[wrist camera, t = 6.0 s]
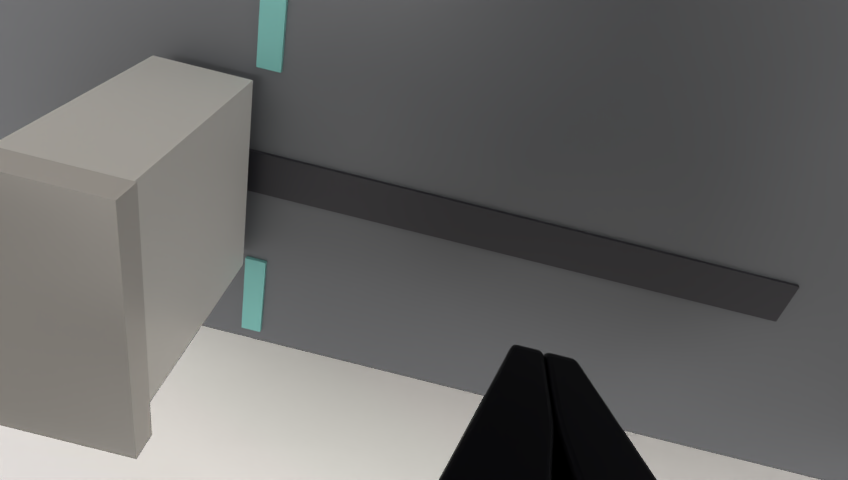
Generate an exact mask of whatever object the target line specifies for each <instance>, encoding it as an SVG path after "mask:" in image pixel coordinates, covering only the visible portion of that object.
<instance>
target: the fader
mask: <svg viewBox="0 0 848 480" xmlns="http://www.w3.org/2000/svg"><path fill="white" fill-rule="evenodd" d="M252 89H253V80H250V79H246V78H242V77H238V76H234V75H230V74H226V73H222V72H218V71H214V70H210V69H206V68H202V67H198V66H194V65H190V64H186V63H182V62H178V61H174V60H170V59H166V58H162V57H158V56H154V55H153V56H151V57H149V58H147V59H145V60H144V61H142V62H140V63H138V64H136V65H135V66H133V67H131V68H129V69H127V70H126V71H124V72H122V73H120V74H118V75H117V76H115V77H113V78H111V79H109V80H107V81H106V82H104V83H102V84H100V85H98V86H97V87H95V88H93V89H91V90H89V91H88V92H86V93H84V94H82V95H80V96H79V97H77V98H75V99H73V100H71V101H70V102H68V103H66V104H64V105H62V106H60V107H59V108H57V109H55V110H53V111H51V112H50V113H48V114H46V115H44V116H42V117H41V118H39V119H37V120H35V121H33V122H32V123H30V124H28V125H26V126H24V127H23V128H21V129H19V130H17V131H15V132H13V133H12V134H10V135H8V136H6V137H4V138H3V139H1V140H0V425H2V426H6V427H10V428H14V429H18V430H22V431H26V432H30V433H34V434H38V435H42V436H46V437H50V438H54V439H58V440H62V441H66V442H70V443H74V444H78V445H82V446H86V447H90V448H94V449H98V450H102V451H106V452H110V453H114V454H118V455H122V456H127V457H131V458H135V459H137V457H138V456H139V454H140V453H141V451H142V450H143V448H144V446H145V445H146V443H147V442H148V440H149V439H150V437H151V435H152V430H151V413H150V402H151V400H152V399H153V397H154V396H155V394H156V393H157V391H158V390H159V388H160V387H161V385H162V384H163V382H164V381H165V379H166V378H167V376H168V375H169V373H170V372H171V370H172V369H173V367H174V366H175V365H176V363H177V362H178V360H179V359H180V357H181V356H182V354H183V353H184V351H185V350H186V348H187V347H188V345H189V344H190V342H191V341H192V339H193V338H194V336H195V335H196V333H197V332H198V330H199V329H200V327H201V326H202V324H203V323H204V321H205V320H206V319H207V317H208V316H209V314H210V313H211V311H212V310H213V308H214V307H215V305H216V304H217V302H218V301H219V299H220V298H221V296H222V295H223V293H224V292H225V290H226V289H227V287H228V286H229V284H230V283H231V281H232V280H233V278H234V277H235V275H236V274H237V273H238V271H239V270H240V268H241V267H242V265H243V255H244V237H245V218H246V200H247V181H248V163H249V144H250V126H251V108H252Z"/></svg>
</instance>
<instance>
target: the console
mask: <svg viewBox="0 0 848 480" xmlns="http://www.w3.org/2000/svg"><path fill="white" fill-rule="evenodd" d="M153 55H154V56H158V57H162V58H166V59H170V60H174V61H178V62H182V63H186V64H190V65H194V66H198V67H202V68H206V69H210V70H214V71H218V72H222V73H226V74H230V75H234V76H238V77H242V78H246V79H250V80H253V89H252V108H251V126H250V144H249V163H248V181H247V200H246V218H245V237H244V255H243V265H242V267H241V268H240V270H239V271H238V273H237V274H236V275H235V277H234V278H233V280H232V281H231V283H230V284H229V286H228V287H227V289H226V290H225V292H224V293H223V295H222V296H221V298H220V299H219V301H218V302H217V304H216V305H215V307H214V308H213V310H212V311H211V313H210V314H209V316H208V317H207V319H206V320H205V321H204V323H203V324H202V326H206V327H210V328H214V329H218V330H222V331H226V332H230V333H234V334H238V335H242V336H246V337H250V338H254V339H258V340H262V341H266V342H270V343H274V344H278V345H282V346H286V347H290V348H294V349H298V350H302V351H306V352H310V353H315V354H319V355H323V356H327V357H331V358H335V359H339V360H343V361H347V362H351V363H355V364H359V365H363V366H367V367H371V368H375V369H379V370H383V371H387V372H391V373H395V374H399V375H403V376H407V377H411V378H415V379H419V380H423V381H427V382H431V383H435V384H439V385H443V386H447V387H451V388H455V389H459V390H463V391H467V392H471V393H475V394H479V395H483V396H484V395H485V394H486V392H487V390H488V388H489V386H490V384H491V382H492V381H493V379H494V377H495V375H496V373H497V371H498V370H499V368H500V366H501V364H502V362H503V360H504V358H505V357H506V355H507V353H508V351H509V349H510V348H511V346H513V345H515V344H516V345H521V346H525V347H529V348H533V349H537V350H540V351H541V352H542V353H543V355H544V354H546V353H553V354H557V355H561V356H565V357H569V358H572V359H574V360H576V361H577V362H578V363H579V365H580V366H581V368H582V369H583V371H584V372H585V374H586V375H587V377H588V378H589V380H590V381H591V383H592V384H593V386H594V387H595V389H596V390H597V392H598V393H599V395H600V396H601V398H602V399H603V401H604V402H605V404H606V405H607V406H608V408H609V409H610V411H611V412H612V414H613V415H614V417H615V418H616V420H617V421H618V423H619V424H620V426H621V427H622V429H623V430H624V431H628V432H632V433H636V434H640V435H644V436H648V437H652V438H656V439H660V440H664V441H668V442H672V443H676V444H680V445H684V446H688V447H692V448H696V449H700V450H704V451H708V452H712V453H716V454H721V455H725V456H729V457H733V458H737V459H741V460H745V461H749V462H753V463H757V464H761V465H765V466H769V467H773V468H777V469H781V470H785V471H789V472H793V473H797V474H801V475H805V476H809V477H813V478H817V479H821V480H848V0H0V140H1V139H3V138H4V137H6V136H8V135H10V134H12V133H13V132H15V131H17V130H19V129H21V128H23V127H24V126H26V125H28V124H30V123H32V122H33V121H35V120H37V119H39V118H41V117H42V116H44V115H46V114H48V113H50V112H51V111H53V110H55V109H57V108H59V107H60V106H62V105H64V104H66V103H68V102H70V101H71V100H73V99H75V98H77V97H79V96H80V95H82V94H84V93H86V92H88V91H89V90H91V89H93V88H95V87H97V86H98V85H100V84H102V83H104V82H106V81H107V80H109V79H111V78H113V77H115V76H117V75H118V74H120V73H122V72H124V71H126V70H127V69H129V68H131V67H133V66H135V65H136V64H138V63H140V62H142V61H144V60H145V59H147V58H149V57H151V56H153Z"/></svg>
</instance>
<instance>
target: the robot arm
mask: <svg viewBox="0 0 848 480" xmlns="http://www.w3.org/2000/svg"><path fill="white" fill-rule="evenodd" d="M439 480H656V478H655V477H654V475H653V474H652V472H651V471H650V469H649V468H648V466H647V465H646V463H645V462H644V460H643V459H642V457H641V456H640V454H639V453H638V451H637V450H636V448H635V447H634V445H633V444H632V442H631V441H630V439H629V438H628V436H627V435H626V433H625V432H624V430H623V429H622V427H621V426H620V424H619V423H618V421H617V420H616V418H615V417H614V415H613V414H612V412H611V411H610V409H609V408H608V406H607V405H606V404H605V402H604V401H603V399H602V398H601V396H600V395H599V393H598V392H597V390H596V389H595V387H594V386H593V384H592V383H591V381H590V380H589V378H588V377H587V375H586V374H585V372H584V371H583V369H582V368H581V366H580V365H579V363H578V362H577V361H576V360H574V359H572V358H569V357H565V356H561V355H557V354H553V353H546V354H544V355H543V353H542V352H541V351H540V350H537V349H533V348H529V347H525V346H521V345H516V344H515V345H513V346H511V348H510V349H509V351H508V353H507V355H506V357H505V358H504V360H503V362H502V364H501V366H500V368H499V370H498V371H497V373H496V375H495V377H494V379H493V381H492V382H491V384H490V386H489V388H488V390H487V392H486V394H485V395H484V397H483V399H482V401H481V403H480V405H479V407H478V408H477V410H476V412H475V414H474V416H473V418H472V419H471V421H470V423H469V425H468V427H467V429H466V431H465V432H464V434H463V436H462V438H461V440H460V442H459V443H458V445H457V447H456V449H455V451H454V453H453V455H452V456H451V458H450V460H449V462H448V464H447V466H446V467H445V469H444V471H443V473H442V475H441V477H440V479H439Z"/></svg>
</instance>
